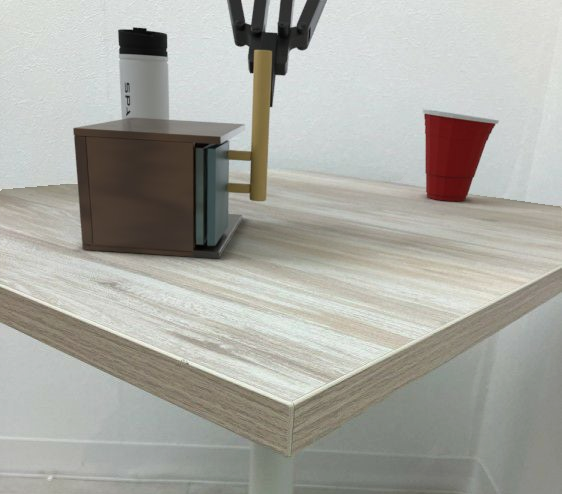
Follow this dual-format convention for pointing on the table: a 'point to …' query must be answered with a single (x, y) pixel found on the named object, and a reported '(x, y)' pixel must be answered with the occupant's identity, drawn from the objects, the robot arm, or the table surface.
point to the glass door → (241, 155)
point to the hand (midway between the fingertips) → (264, 96)
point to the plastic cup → (453, 152)
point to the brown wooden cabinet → (148, 186)
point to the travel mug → (143, 74)
